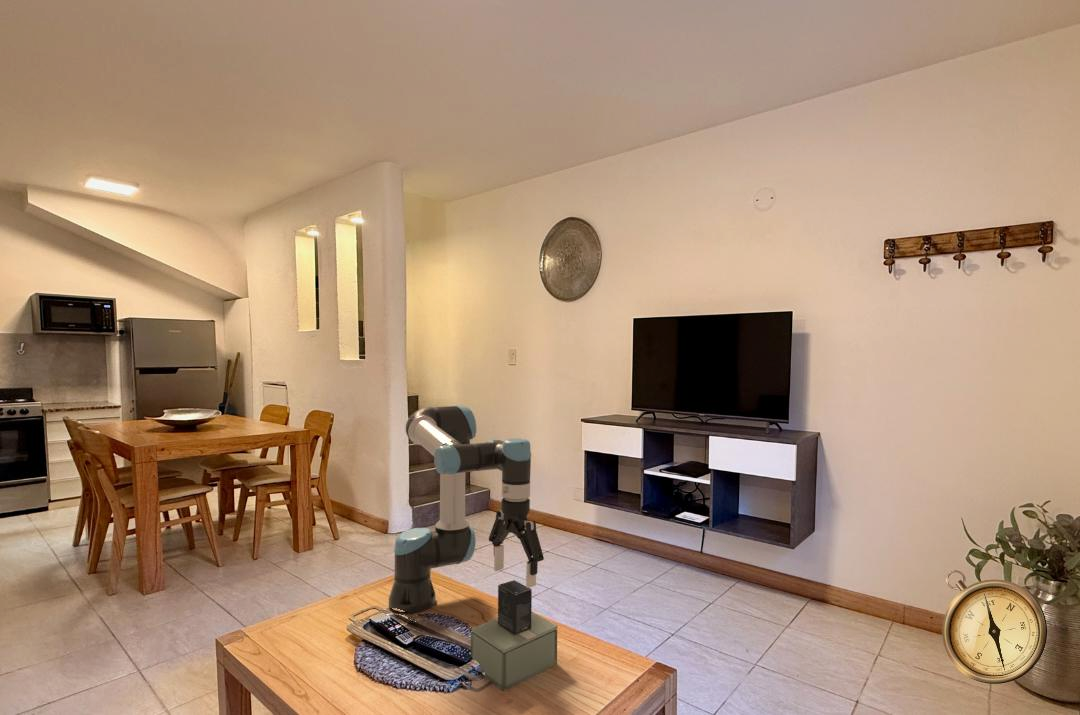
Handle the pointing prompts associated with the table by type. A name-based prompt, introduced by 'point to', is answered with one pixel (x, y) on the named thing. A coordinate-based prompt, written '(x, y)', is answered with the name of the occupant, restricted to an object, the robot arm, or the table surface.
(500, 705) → the table surface
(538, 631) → the lid
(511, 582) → the box
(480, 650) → the carton
